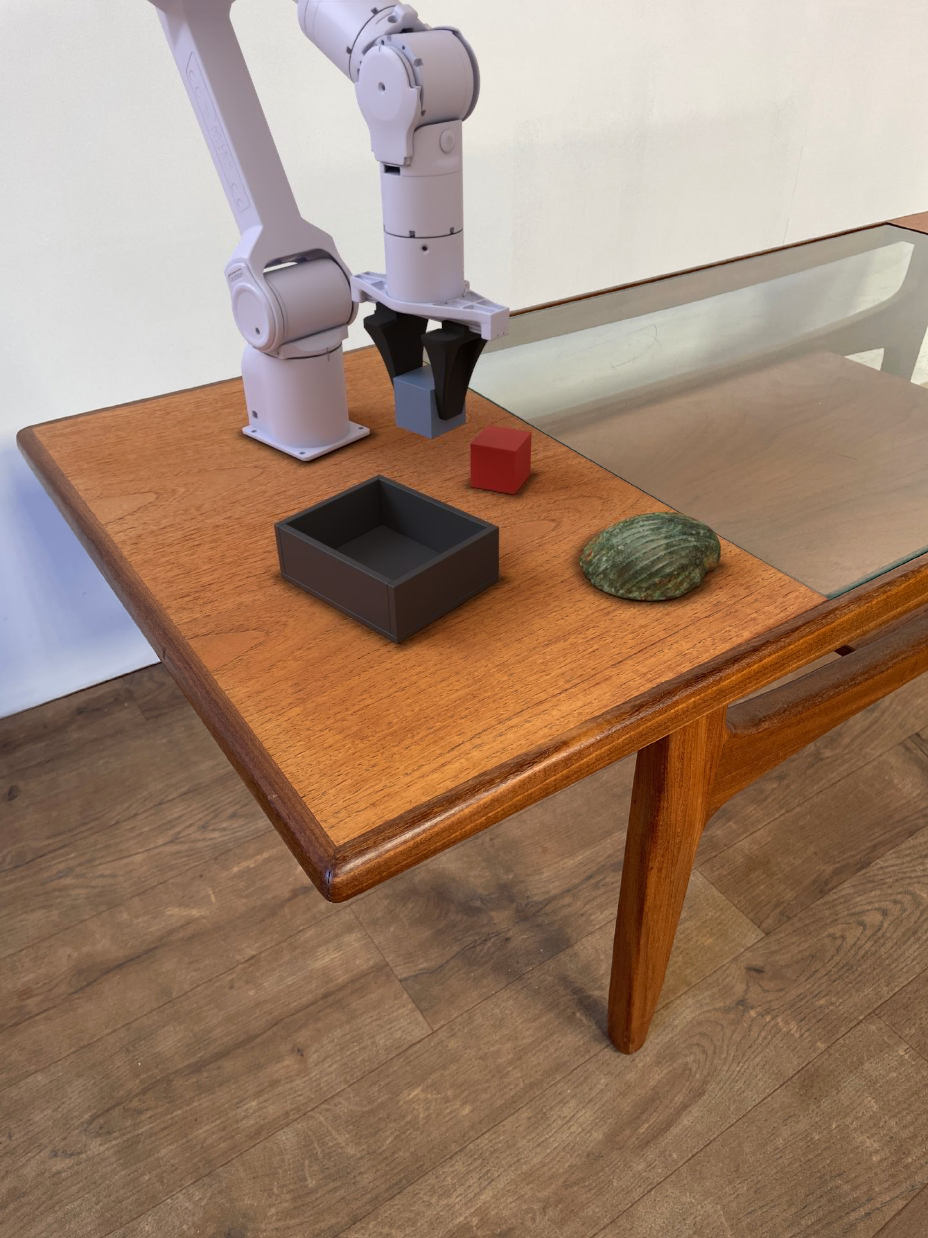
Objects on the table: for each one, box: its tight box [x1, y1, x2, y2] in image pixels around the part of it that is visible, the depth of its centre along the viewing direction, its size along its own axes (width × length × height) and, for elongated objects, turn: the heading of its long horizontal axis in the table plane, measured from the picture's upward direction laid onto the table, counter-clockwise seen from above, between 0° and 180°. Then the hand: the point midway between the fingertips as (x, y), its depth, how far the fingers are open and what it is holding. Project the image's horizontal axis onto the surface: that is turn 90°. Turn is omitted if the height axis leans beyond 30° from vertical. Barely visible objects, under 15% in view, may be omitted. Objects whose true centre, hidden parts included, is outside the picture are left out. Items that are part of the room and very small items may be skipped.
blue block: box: [393, 363, 467, 440], centre depth 76 cm, size 4×4×4 cm
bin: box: [273, 473, 500, 645], centre depth 68 cm, size 12×10×4 cm
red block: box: [469, 424, 533, 495], centre depth 81 cm, size 4×4×4 cm
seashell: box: [579, 511, 722, 602], centre depth 70 cm, size 10×4×10 cm
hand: (430, 408), depth 76 cm, fingers closed on blue block, 4 cm apart
